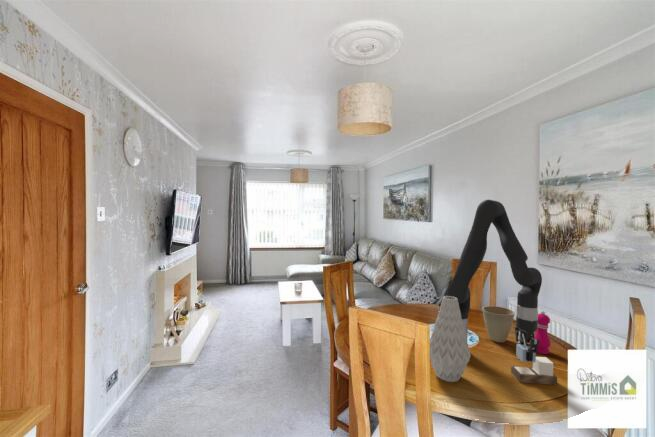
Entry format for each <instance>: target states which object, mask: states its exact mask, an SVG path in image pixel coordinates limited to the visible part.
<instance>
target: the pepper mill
mask: <svg viewBox="0 0 655 437" xmlns="http://www.w3.org/2000/svg"><path fill="white" fill-rule="evenodd" d="M550 323H551V319H550V316H548V315H547V314H546V312H545V310H544V311H543V310H541V311H540V313H538V329H537V330H536V331H535V332H536V333H534V338H535V339H538V340H539V345H538V350H537V353H538V354H540V355H541V354H542V355H548V354H549V353H550V347H551V344H552V343H551V340H550V337H549V335H548V334H549V333H548V329H549V324H550Z"/></svg>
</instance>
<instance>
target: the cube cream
mask: <svg viewBox="0 0 655 437" xmlns="http://www.w3.org/2000/svg"><path fill="white" fill-rule="evenodd" d="M532 367H533V369H534V370H535V371H536V372H537V373H538V374H540V375H552V376H553V374H554V362H552V361H551V360H550V359H549V358H548V357H547V356H536V362H532Z"/></svg>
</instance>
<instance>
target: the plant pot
mask: <svg viewBox="0 0 655 437" xmlns="http://www.w3.org/2000/svg"><path fill="white" fill-rule="evenodd" d="M482 314H483V316H482V317H483V322H484V325H485V329H486V332H487V335H488V337H489V340H490V341H493V342H496V343H505V342H507V339H508V337H509V335H510V332H511V329H512V328H513V327H512V326H513V322H514V318H515V315H516V311H514V310H512V309H510V308H507V307H503V306H498V305H497V306H496V305H486V306H483V307H482Z"/></svg>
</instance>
